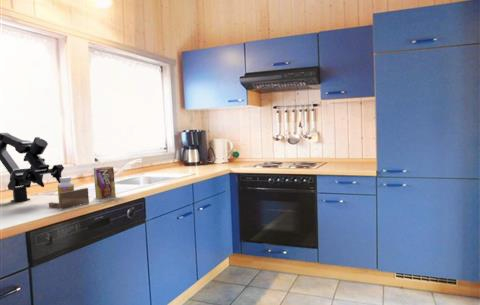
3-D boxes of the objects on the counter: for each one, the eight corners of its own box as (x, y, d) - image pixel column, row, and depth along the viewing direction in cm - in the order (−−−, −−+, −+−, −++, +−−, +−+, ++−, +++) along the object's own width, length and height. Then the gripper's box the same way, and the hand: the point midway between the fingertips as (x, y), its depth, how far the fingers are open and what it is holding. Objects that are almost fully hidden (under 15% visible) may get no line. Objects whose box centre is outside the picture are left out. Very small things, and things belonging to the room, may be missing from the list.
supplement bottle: (60, 207, 165) (58, 178, 164) (57, 205, 170) (55, 177, 169) (76, 204, 169) (74, 177, 168) (73, 202, 174) (71, 176, 173)
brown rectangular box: (47, 207, 165) (46, 192, 165) (74, 201, 178) (73, 187, 177) (62, 209, 161) (61, 193, 160) (88, 202, 173) (87, 188, 172)
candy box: (112, 195, 190) (111, 166, 189) (116, 196, 187) (114, 166, 186) (95, 198, 185) (93, 167, 184) (98, 199, 181) (96, 168, 180)
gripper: (46, 170, 189) (62, 192, 184) (10, 175, 172) (26, 200, 168) (56, 155, 184) (72, 177, 180) (19, 158, 168) (36, 183, 164)
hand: (52, 185), depth 173 cm, fingers open, 9 cm apart
